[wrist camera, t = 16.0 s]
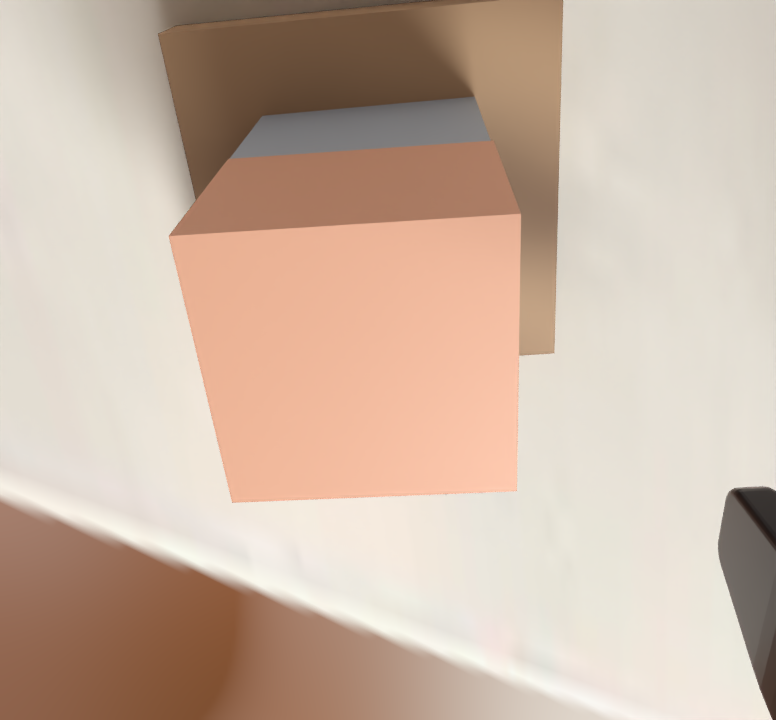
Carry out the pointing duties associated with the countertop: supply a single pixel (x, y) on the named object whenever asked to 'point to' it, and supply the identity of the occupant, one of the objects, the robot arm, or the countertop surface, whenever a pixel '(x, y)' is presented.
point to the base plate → (392, 96)
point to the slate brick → (366, 128)
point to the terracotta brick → (358, 321)
